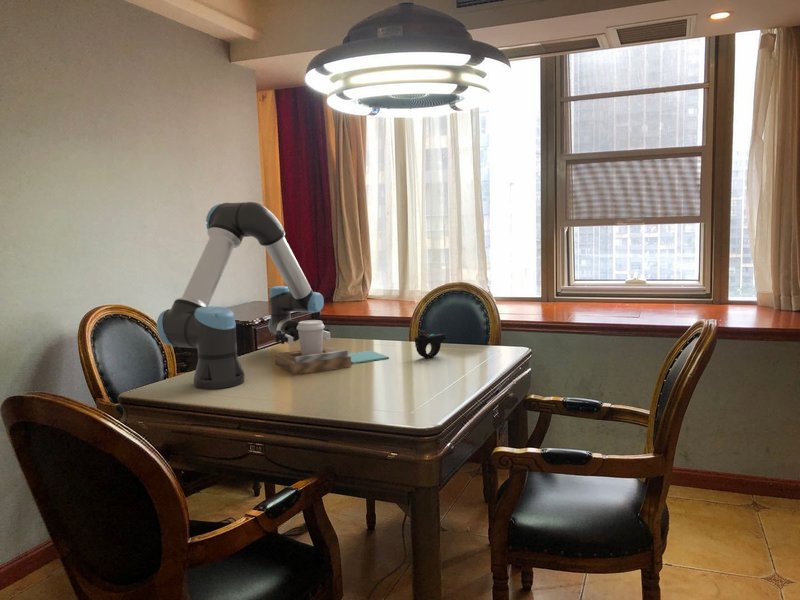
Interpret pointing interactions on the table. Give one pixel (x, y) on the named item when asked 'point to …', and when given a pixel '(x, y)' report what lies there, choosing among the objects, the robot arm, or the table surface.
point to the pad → (366, 356)
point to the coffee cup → (311, 336)
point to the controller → (424, 340)
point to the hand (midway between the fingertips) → (311, 338)
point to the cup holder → (313, 360)
